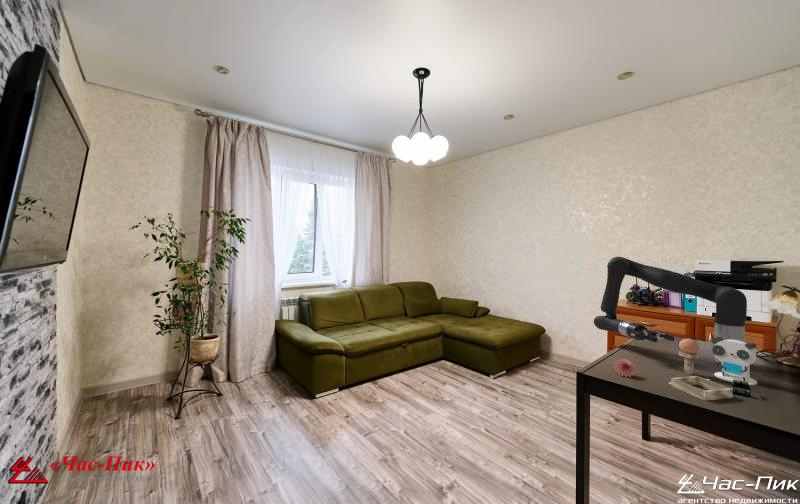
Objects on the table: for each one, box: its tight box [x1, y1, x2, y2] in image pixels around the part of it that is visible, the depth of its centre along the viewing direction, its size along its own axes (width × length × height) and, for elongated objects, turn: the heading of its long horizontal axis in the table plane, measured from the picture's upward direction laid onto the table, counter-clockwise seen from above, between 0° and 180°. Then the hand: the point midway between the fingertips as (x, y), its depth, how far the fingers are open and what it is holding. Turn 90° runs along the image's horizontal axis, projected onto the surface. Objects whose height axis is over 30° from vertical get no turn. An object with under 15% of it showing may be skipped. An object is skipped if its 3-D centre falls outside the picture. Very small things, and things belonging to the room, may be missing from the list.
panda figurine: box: [710, 336, 758, 386], centre depth 122 cm, size 12×11×15 cm
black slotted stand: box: [730, 379, 763, 401], centre depth 110 cm, size 12×7×5 cm, turn 49°
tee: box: [678, 350, 700, 376], centre depth 127 cm, size 4×4×9 cm
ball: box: [678, 338, 700, 354], centre depth 127 cm, size 6×6×6 cm
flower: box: [613, 357, 638, 378], centre depth 127 cm, size 8×8×6 cm
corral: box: [670, 375, 734, 401], centre depth 111 cm, size 11×11×3 cm
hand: (665, 339), depth 137 cm, fingers open, 8 cm apart
